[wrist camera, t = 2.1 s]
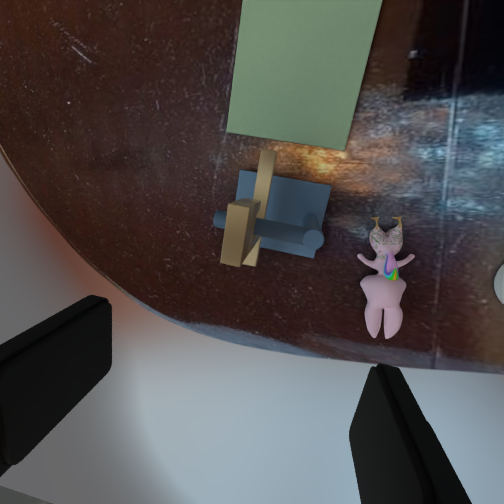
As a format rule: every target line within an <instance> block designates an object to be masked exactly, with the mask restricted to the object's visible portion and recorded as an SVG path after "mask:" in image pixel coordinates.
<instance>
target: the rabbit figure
mask: <svg viewBox="0 0 504 504" xmlns="http://www.w3.org/2000/svg"><path fill="white" fill-rule="evenodd" d="M392 218H393V217H392ZM401 218H402V216H398V217H395V218H393V219H397V220H398V222H399V223H398V226H397V227H395V228H392V229H390V230H388V231H387V232H386V233H385V232H384V231H383V230H382V229H381V228H380V227H379V226H378V219H379V218H378V217H371V219H374V220H375V221H376V226H375V228H374V229H373V230H372V231H371V232H370V235H369V240H370V244H371V246H372V247H373V249H374V250H375V252H376V253H377V257H376V259H375V260H374V261H369V260H367V259H365V258H364V256H363V255H362V254H358V255H357V257H358V258H359V259H360V260H361V261H362V262H363V263H365V264H366V265H368V266H370V267H372V268H374V269H376V270H378V272H379V273H378V274H376V275H368V276H366V277H365V278H363V279H362V281H361V282H360V285H361V287H362V289H363V291H364V293H365V295H366V297H367V300H368V302H367V306H366V308H365V319H366V325H367V328H368V331H369V333H370V335H371V336H372V337H373V338H376V336H377V334H378V331H379V329H380V326H381V318H382V309H384V331H385V338H386V339H388V338H390V337H392V336H393V335H394V334H395V333H397V331H398V330H399V328H400V326H401V323H402V317H403V313H402V310H401V308H400V306H399V303H400V300H401V297H402V294H403V292H404V290H405V288H406V283H405V282H404V280H402V279H401V278H400V277H399V271H398V268H399V267H401V266H403V265H405V264H407V263H408V262H409V261H411V260H412V259H413V258H414V257H415V256H414V255H413V254H410V255H409V256H408V257H407V258H406V259H404V260H401V261H396V260H395V257H394V255H395V254H396V253H398V252H399V250H400V249H401V247H402V244H403V235H402V225H401Z"/></svg>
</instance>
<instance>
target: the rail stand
mask: <svg viewBox="0 0 504 504" xmlns="http://www.w3.org/2000/svg"><path fill="white" fill-rule="evenodd" d="M256 178H257V172H252V171H246V170H240V174H239V180H238V187H237V194H236V201H237V200H239V199H242V198H250V199H253V197H254V191H255V184H256ZM331 187H332V186H331V185H326V184H320V183H314V182H309V181H303V180H297V179H292V178H286V177H280V176H275V175H273V179H272V185H271V190H270V196H269V201H268V207H267V212H266V218H265V219H262V218H257V217H256V221H255V227H254V233H253V235H257V236H262V240H261V245H260V247H263V248H268V249H272V250H277V251H282V252H286V253H291V254H296V255H301V256H305V257H310V258H314V255H315V251H316V249H318V248H320V247H321V246H322V245H323V243H324V236H323V233H322V231H321V227H322V223H323V219H324V215H325V211H326V207H327V203H328V199H329V195H330V191H331ZM226 217H227V212H226V211H221V210H217V211H216V213H215V216H214V226H215V227H218V228H223V229H225V224H226Z"/></svg>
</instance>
